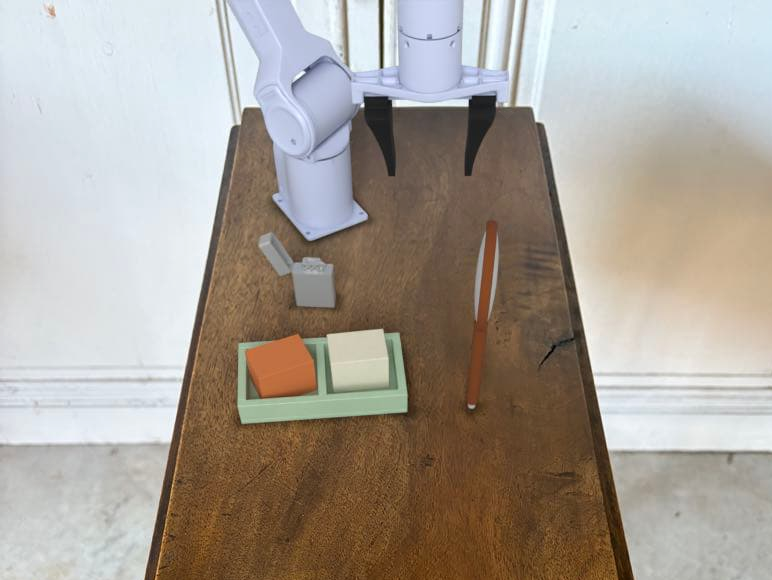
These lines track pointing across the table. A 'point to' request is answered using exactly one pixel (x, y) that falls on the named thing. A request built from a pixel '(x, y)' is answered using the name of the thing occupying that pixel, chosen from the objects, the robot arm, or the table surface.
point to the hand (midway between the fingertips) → (429, 170)
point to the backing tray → (323, 390)
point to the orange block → (281, 368)
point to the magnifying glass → (482, 307)
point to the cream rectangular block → (358, 360)
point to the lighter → (302, 274)
